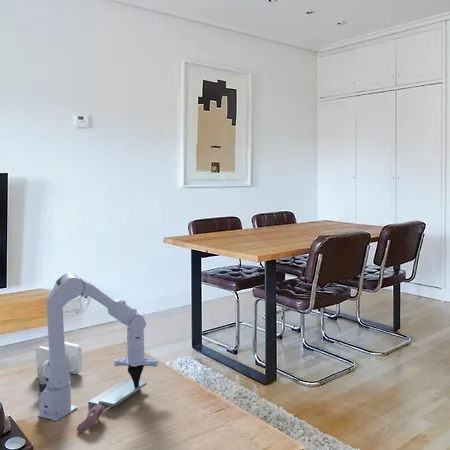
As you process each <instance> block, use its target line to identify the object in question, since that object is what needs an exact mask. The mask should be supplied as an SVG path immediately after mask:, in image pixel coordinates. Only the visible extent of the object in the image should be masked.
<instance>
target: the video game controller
mask: <svg viewBox="0 0 450 450" xmlns="http://www.w3.org/2000/svg"><path fill="white" fill-rule="evenodd" d="M105 406H106V405H105ZM105 406H103V405H99V404H98V405H96V406H94V407H93V408H90V410H89V412H88V413H87V414H86V415H87V417H86V418H85V419H84V420H82V422H81V423H80V424H78V425H77V427H76V431H77V432H78V433H85V432H87V431H88V430H89V429H91V430H92V429H93V427H94V426H95V425H97V424H98V422H99V420H100V417H101V415H102V414H103V412H104V410H105Z"/></svg>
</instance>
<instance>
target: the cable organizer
mask: <svg viewBox="0 0 450 450" xmlns="http://www.w3.org/2000/svg"><path fill="white" fill-rule="evenodd" d="M64 344H65V358H66V363H67V370H68V371H69V373H70V375H71V374H72V375H73V374H74V375H77V374H79V373H81V372H82V371H83V357H82V348H81V346H80V345H79V344H77V343H73V342H68V341H64ZM48 357H49V347H48V346H43V345H41V346H38V347H36V348H35V363H36V373H37V374H38V368H39V366H40V365H41V364H42V363H43V362H44V361H46V360H48ZM47 365H48V364H47ZM47 365H46V366H45V367H44V368H43V370H42V375H43V377H44V379H46V380H49V378H48V375H47V374H46V367H47Z"/></svg>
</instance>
